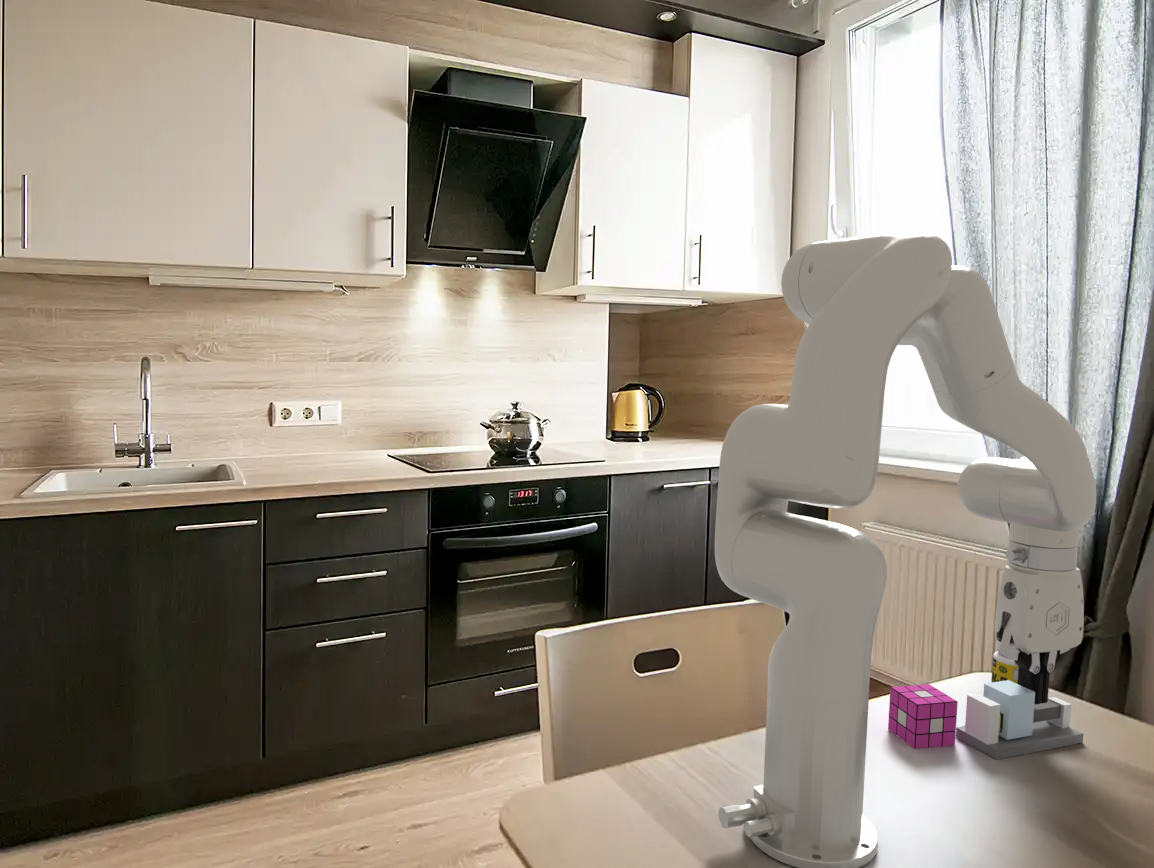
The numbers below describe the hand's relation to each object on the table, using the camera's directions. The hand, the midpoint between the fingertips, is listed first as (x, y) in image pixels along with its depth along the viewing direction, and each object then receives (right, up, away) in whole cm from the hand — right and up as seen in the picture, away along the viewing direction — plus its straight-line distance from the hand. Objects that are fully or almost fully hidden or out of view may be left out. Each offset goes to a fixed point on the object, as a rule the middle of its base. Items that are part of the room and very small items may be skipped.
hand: (1031, 699), depth 108 cm
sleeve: (-4, -4, -1) cm, 5 cm away
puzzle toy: (-14, -5, 0) cm, 15 cm away
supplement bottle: (+3, -4, +12) cm, 13 cm away
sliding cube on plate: (-2, -5, 0) cm, 5 cm away
